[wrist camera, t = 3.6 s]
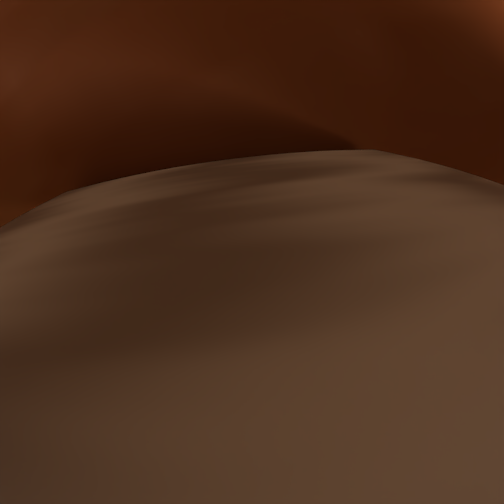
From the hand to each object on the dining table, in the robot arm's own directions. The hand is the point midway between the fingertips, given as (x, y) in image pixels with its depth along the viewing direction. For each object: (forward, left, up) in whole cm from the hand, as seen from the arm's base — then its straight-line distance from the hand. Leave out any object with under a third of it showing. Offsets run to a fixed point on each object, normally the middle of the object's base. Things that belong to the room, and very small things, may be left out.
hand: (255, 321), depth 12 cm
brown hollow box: (+1, +3, -3) cm, 4 cm away
